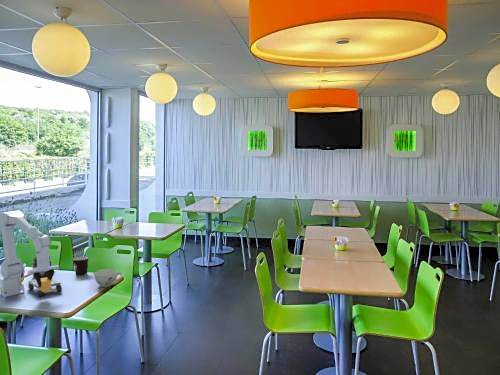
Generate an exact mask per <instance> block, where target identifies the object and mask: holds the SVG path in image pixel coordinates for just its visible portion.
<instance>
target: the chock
mask: <svg viewBox="0 0 500 375" xmlns="http://www.w3.org/2000/svg"><path fill="white" fill-rule="evenodd" d="M51 289H52V287H51V280H49V279H47V278H44V279H41V287H39V290H41V291H42V292H45V291H49V290H51Z"/></svg>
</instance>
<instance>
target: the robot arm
mask: <svg viewBox="0 0 500 375" xmlns="http://www.w3.org/2000/svg"><path fill="white" fill-rule="evenodd" d="M15 226H18V227H19V228H21V229H22V230H23V231H25V235H26V236H27V237H28V238H29V240H31V241H32V243H33V246H34V251H35V252H36V257H37V268H36V269H33V268H32V269H30V270H27V275H29V276H30V275H32V276H33V275H34V277H35V278H34V277H33V278H34V280H35V279H36V281H37V283H38V287H41V275H40V272H46V271H47V278H48V279H49V280H52V278H53V276H54V275H55V273H56V272H55V270H57V271H58V270H59V269H60V265H58V264H57V265H52V266H50V262H49V256H50V246H51V244H52V238H51V237H50V236H49V234H44V233H42V232H41V231H40V230H39V228H38V227H36V226H32V225H30V223H29V222H28V221H27V220H26V219H25V215H24V213H23V212H22V211H21V210H14V211H7V212H6V211H4V212H3V211H2V212H1V213H0V229H1V236H2V245H3V252H4V260H3V262H2V263H0V275H1V277H2V278H1V279H0V295H1V296H3V297H4V298H5V297H11V296H15V295H19V294H24V291H23V290H22V286H21V285H22V284H21V276H22V274H23V273H24V269H25V268H24V264H23V263H22V260H21V259H20V258H18V257H17V251H16V243H15V236H14V228H15Z"/></svg>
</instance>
